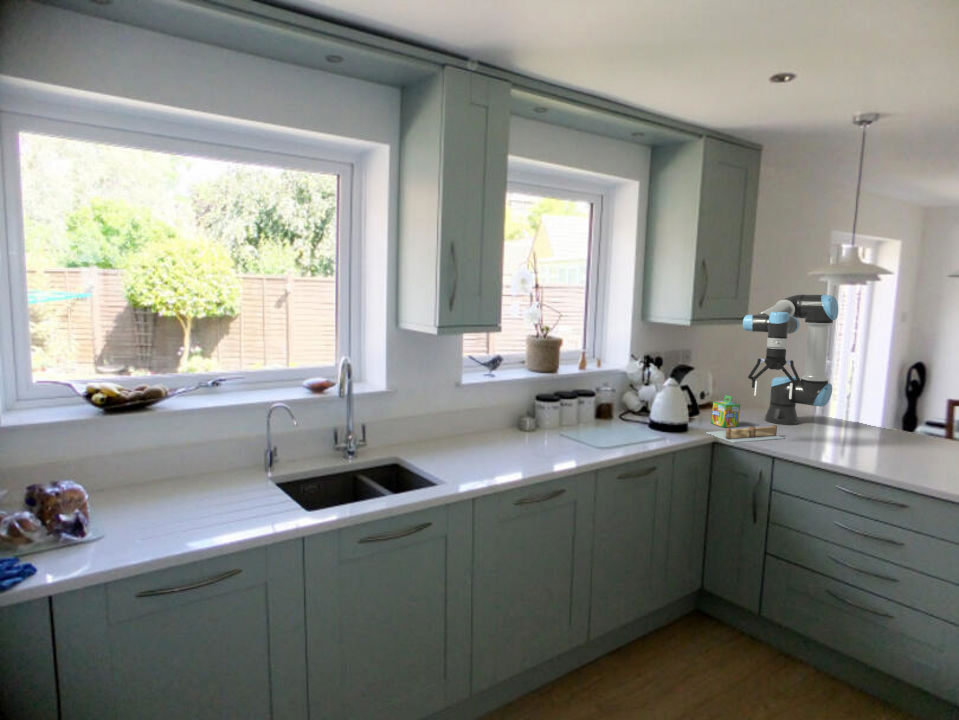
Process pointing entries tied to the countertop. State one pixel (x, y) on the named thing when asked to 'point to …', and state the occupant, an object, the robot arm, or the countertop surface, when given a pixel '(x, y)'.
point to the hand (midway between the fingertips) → (772, 397)
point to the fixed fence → (763, 431)
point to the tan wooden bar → (737, 433)
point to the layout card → (746, 439)
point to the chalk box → (725, 413)
